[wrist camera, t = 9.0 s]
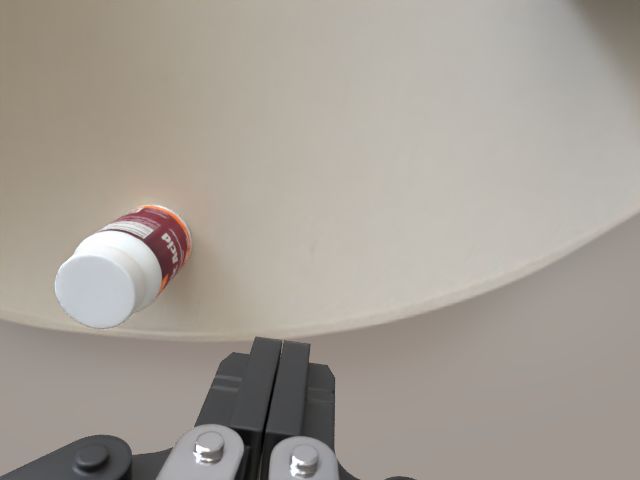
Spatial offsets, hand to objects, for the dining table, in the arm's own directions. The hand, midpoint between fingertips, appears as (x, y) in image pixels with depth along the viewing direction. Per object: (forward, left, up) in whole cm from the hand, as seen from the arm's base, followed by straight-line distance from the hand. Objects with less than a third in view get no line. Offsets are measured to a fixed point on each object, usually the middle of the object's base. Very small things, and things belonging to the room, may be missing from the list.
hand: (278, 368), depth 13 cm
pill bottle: (+10, 0, -18) cm, 21 cm away
